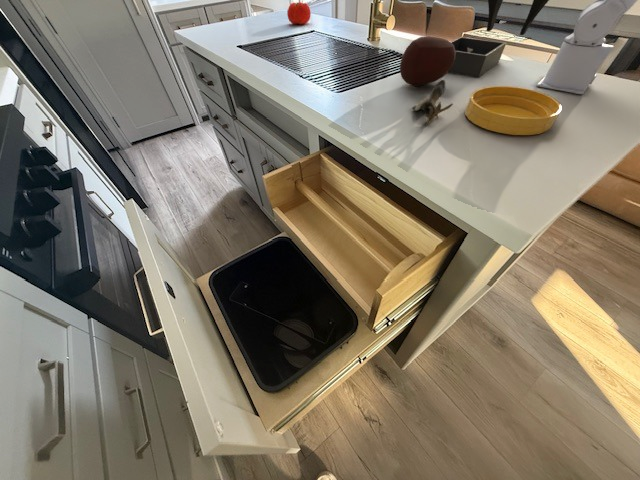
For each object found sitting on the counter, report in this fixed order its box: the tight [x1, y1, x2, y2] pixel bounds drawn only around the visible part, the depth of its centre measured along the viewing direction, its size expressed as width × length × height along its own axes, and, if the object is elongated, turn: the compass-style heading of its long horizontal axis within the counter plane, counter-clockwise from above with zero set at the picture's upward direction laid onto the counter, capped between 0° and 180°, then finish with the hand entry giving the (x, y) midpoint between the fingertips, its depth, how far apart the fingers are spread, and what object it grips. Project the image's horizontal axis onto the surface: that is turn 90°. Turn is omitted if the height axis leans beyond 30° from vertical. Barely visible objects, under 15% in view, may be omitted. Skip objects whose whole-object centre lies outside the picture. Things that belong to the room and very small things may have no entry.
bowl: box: [464, 85, 563, 136], centre depth 54 cm, size 16×16×4 cm
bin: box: [447, 36, 507, 79], centre depth 76 cm, size 13×15×5 cm
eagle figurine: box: [411, 79, 454, 126], centre depth 55 cm, size 8×7×9 cm
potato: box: [399, 35, 456, 87], centre depth 66 cm, size 11×13×10 cm
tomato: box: [286, 1, 311, 25], centre depth 125 cm, size 11×11×8 cm
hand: (505, 32), depth 66 cm, fingers open, 7 cm apart
